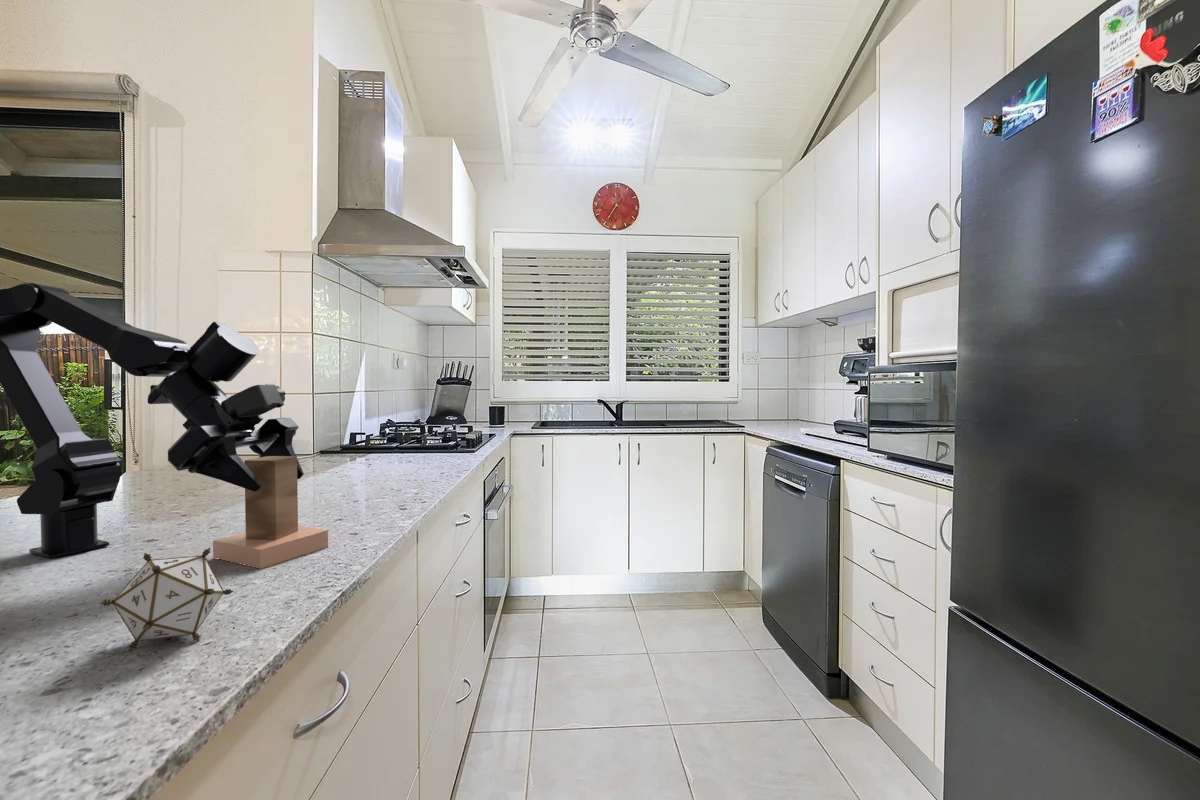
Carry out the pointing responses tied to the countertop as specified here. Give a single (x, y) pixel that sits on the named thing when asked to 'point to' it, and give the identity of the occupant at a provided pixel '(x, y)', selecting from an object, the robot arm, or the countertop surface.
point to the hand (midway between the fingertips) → (281, 482)
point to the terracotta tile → (270, 547)
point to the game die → (168, 598)
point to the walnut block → (272, 498)
